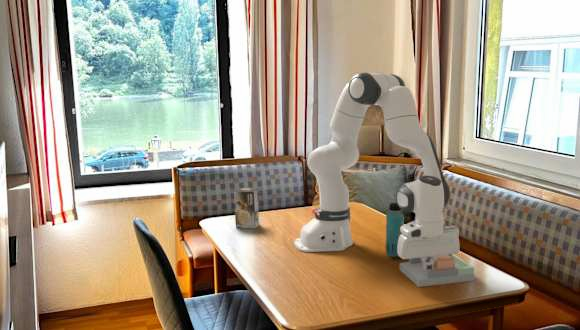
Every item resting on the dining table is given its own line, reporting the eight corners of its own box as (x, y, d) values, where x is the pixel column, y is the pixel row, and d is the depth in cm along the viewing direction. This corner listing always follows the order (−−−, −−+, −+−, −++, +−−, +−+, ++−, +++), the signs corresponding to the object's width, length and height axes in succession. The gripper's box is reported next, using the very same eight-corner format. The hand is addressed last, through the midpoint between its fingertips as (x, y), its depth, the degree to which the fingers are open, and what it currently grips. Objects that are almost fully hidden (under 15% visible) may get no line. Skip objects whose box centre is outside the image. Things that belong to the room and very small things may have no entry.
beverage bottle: (405, 255, 214) (406, 201, 210) (402, 261, 208) (403, 206, 204) (387, 253, 216) (387, 200, 212) (383, 259, 210) (384, 205, 206)
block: (437, 275, 188) (437, 261, 188) (430, 269, 193) (431, 256, 192) (454, 273, 190) (455, 259, 189) (447, 267, 195) (448, 254, 194)
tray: (418, 286, 186) (418, 273, 185) (399, 269, 200) (399, 257, 199) (473, 280, 190) (474, 267, 189) (451, 264, 204) (451, 252, 203)
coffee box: (259, 224, 255) (258, 188, 252) (255, 228, 249) (254, 191, 246) (239, 223, 257) (238, 187, 254) (234, 227, 251) (233, 191, 248)
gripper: (454, 222, 193) (453, 262, 195) (395, 227, 188) (395, 268, 191) (464, 227, 186) (462, 269, 189) (403, 233, 182) (402, 275, 185)
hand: (428, 268), depth 190 cm, fingers closed
